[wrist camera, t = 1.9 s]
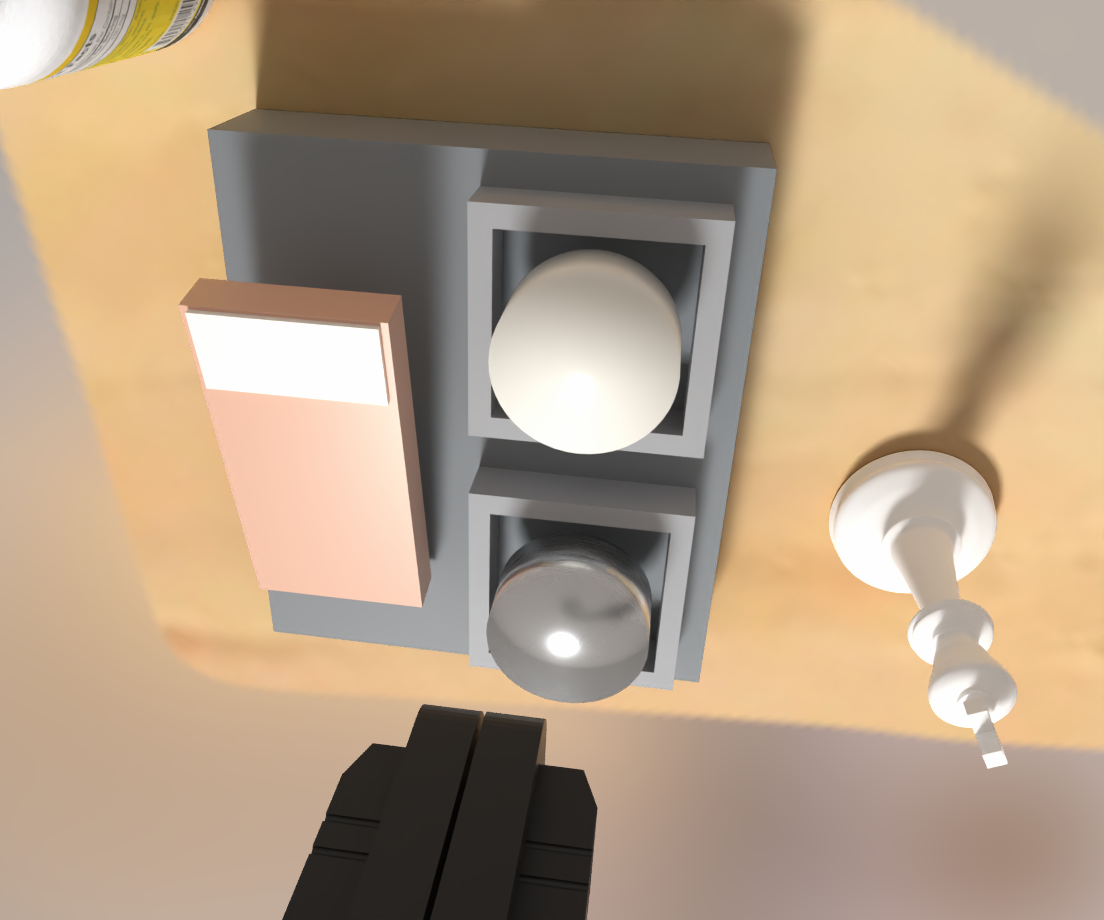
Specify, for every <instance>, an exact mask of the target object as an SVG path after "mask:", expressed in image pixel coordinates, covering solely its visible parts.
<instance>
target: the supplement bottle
mask: <svg viewBox="0 0 1104 920" xmlns="http://www.w3.org/2000/svg"><path fill="white" fill-rule="evenodd" d="M213 2H214V0H0V89H6V88H11V87H19V86H23V85H27V84H31V83H36V82H39V81H42V80H46V79H50V78H54V77H58V76H61V75H65V74H69V73H73V72H77V71H81V70H85V69H89V68H93V67H97V66H100V65H104V64H108V63H112V62H116V61H120V60H124V59H128V58H132V57H135V56H139V55H143V54H147V53H150V52H153V51H157V50H160V49H163V48H166V47H168V46H170V45H172V44H175V43H177V42H179V41H181V40H182V39H184V38H185V37H186V36H188V35H189V34H190V33H192V32H193V31H194V30H195V29H196V28H197V27H198V26H199V24H200V23H201V22H202V21H203V20H204V18H205V17H206V15H207V13H208V12H209V10H210V8H211V6H212V4H213Z"/></svg>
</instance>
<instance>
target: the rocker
mask: <svg viewBox="0 0 1104 920" xmlns="http://www.w3.org/2000/svg"><path fill="white" fill-rule="evenodd" d="M179 309H180V312H181V316H182V319H183V323H184V326H185V329H186V333H187V336H188V340H189V343H190V347H191V350H192V354H193V357H194V361H195V364H196V368H197V371H198V375H199V378H200V382H201V385H202V389H203V392H204V396H205V399H206V403H207V406H208V410H209V413H210V417H211V420H212V424H213V427H214V430H215V434H216V437H217V441H218V444H219V448H220V451H221V455H222V458H223V462H224V465H225V469H226V472H227V476H228V479H229V483H230V486H231V490H232V493H233V497H234V500H235V504H236V507H237V511H238V514H239V518H240V521H241V525H242V528H243V532H244V535H245V538H246V542H247V545H248V549H249V552H250V556H251V559H252V563H253V566H254V570H255V573H256V577H257V580H258V584H259V587H260V589H267V590H275V591H284V592H292V593H301V594H310V595H318V596H327V597H336V598H344V599H353V600H361V601H370V602H379V603H387V604H396V605H405V606H413V607H423V603H424V600H425V597H426V594H427V590H428V587H429V584H430V581H431V568H430V559H429V549H428V540H427V531H426V521H425V512H424V503H423V493H422V484H421V475H420V465H419V456H418V447H417V437H416V428H415V419H414V409H413V400H412V390H411V381H410V372H409V362H408V353H407V344H406V334H405V325H404V316H403V306H402V297H401V295H391V294H379V293H367V292H355V291H344V290H332V289H320V288H308V287H297V286H285V285H273V284H261V283H249V282H238V281H226V280H214V279H202V278H199V280H198V281H197V282H196V283H195V285H194V286H193V287H192V288H191V290H190V291H189V292H188V293H187V295H186V296H185V297H184V299H183V300H182V301H181V302H180V304H179Z"/></svg>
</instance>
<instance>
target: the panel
mask: <svg viewBox="0 0 1104 920" xmlns="http://www.w3.org/2000/svg"><path fill="white" fill-rule="evenodd" d="M207 130H208V138H209V145H210V153H211V161H212V168H213V176H214V183H215V191H216V198H217V206H218V214H219V221H220V229H221V236H222V244H223V251H224V259H225V267H226V274H227V281H238V282H249V283H261V284H273V285H285V286H297V287H308V288H320V289H332V290H344V291H355V292H367V293H379V294H391V295H401V297H402V306H403V316H404V325H405V334H406V344H407V353H408V362H409V372H410V381H411V390H412V400H413V409H414V419H415V428H416V437H417V447H418V456H419V465H420V475H421V484H422V493H423V503H424V512H425V521H426V531H427V540H428V549H429V559H430V568H431V581H430V584H429V587H428V590H427V594H426V597H425V600H424V603H423V607H413V606H405V605H396V604H387V603H379V602H370V601H361V600H353V599H344V598H336V597H327V596H318V595H310V594H301V593H292V592H284V591H275V590H268V592H269V600H270V607H271V615H272V622H273V630H274V631H275V632H284V633H292V634H300V635H309V636H317V637H325V638H333V639H342V640H350V641H358V642H367V643H375V644H383V645H392V646H400V647H408V648H417V649H425V650H433V651H442V652H450V653H458V654H467V655H469V666H475V667H483V668H492V669H500V668H499V667H498V665H497V664H496V662H495V661H494V659H493V657H492V655H491V653H490V650H489V647H488V643H487V635H486V630H487V622H488V618H489V615H490V611H491V608H492V605H493V601H494V598H495V595H496V591H497V588H498V585H499V581H500V578H501V575H502V572H503V569H504V567H505V565H506V563H507V562H508V560H509V559H510V557H511V556H512V555H513V554H514V553H515V552H516V551H517V550H518V549H519V548H521V547H522V546H523V545H525V544H526V543H528V542H530V541H532V540H534V539H536V538H538V537H541V536H545V535H548V534H554V533H561V532H578V533H585V534H590V535H594V536H597V537H601V538H603V539H606V540H608V541H610V542H612V543H614V544H616V545H618V546H619V547H621V548H622V549H624V550H625V551H626V552H627V553H629V554H630V555H631V556H632V557H633V558H634V559H635V560H636V561H637V562H638V564H639V565H640V566H641V568H642V569H643V571H644V572H645V574H646V577H647V579H648V581H649V584H650V588H651V594H652V606H651V621H650V635H649V650H648V656H647V660H646V663H645V665H644V667H643V669H642V671H641V673H640V674H639V675H638V677H637V678H636V679H635V680H634V681H633V682H632V683H631V684H630V685H632V686H640V687H648V688H657V689H665V690H672V689H673V681H674V679H675V680H683V681H692V682H699V679H700V672H701V666H702V659H703V652H704V646H705V639H706V633H707V626H708V619H709V613H710V606H711V600H712V593H713V587H714V580H715V573H716V567H717V560H718V554H719V547H720V541H721V534H722V527H723V521H724V514H725V508H726V501H727V494H728V488H729V481H730V475H731V468H732V462H733V455H734V448H735V442H736V435H737V429H738V422H739V416H740V409H741V402H742V396H743V389H744V383H745V376H746V369H747V363H748V356H749V350H750V343H751V337H752V330H753V323H754V317H755V310H756V304H757V297H758V291H759V284H760V277H761V271H762V264H763V258H764V251H765V244H766V238H767V231H768V225H769V218H770V212H771V205H772V198H773V192H774V185H775V179H776V172H777V168H776V164H775V161H774V158H773V155H772V152H771V148H770V145H769V143H757V142H743V141H728V140H713V139H698V138H683V137H668V136H653V135H638V134H623V133H608V132H593V131H578V130H563V129H548V128H533V127H519V126H504V125H489V124H474V123H459V122H444V121H429V120H414V119H399V118H384V117H369V116H354V115H339V114H324V113H310V112H295V111H280V110H265V109H254V110H251V111H249V112H247V113H244V114H242V115H240V116H238V117H235V118H233V119H231V120H228V121H226V122H224V123H221V124H219V125H217V126H214V127H212V128H210V129H207ZM583 249H597V250H604V251H610V252H614V253H618V254H621V255H624V256H626V257H628V258H631V259H633V260H635V261H636V262H638V263H640V264H641V265H643V266H644V267H646V268H647V269H648V270H650V271H651V272H652V273H653V274H654V275H655V276H656V277H657V278H658V279H659V280H660V281H661V282H662V283H663V285H664V286H665V287H666V289H667V290H668V291H669V293H670V295H671V297H672V299H673V300H674V303H675V305H676V308H677V310H678V314H679V318H680V322H681V331H682V338H681V363H680V380H679V386H678V390H677V393H676V396H675V399H674V402H673V404H672V406H671V408H670V409H669V411H668V413H667V414H666V416H665V417H664V418H663V420H662V421H661V422H660V423H659V424H658V425H657V426H656V428H655V429H653V430H652V431H651V432H650V433H649V434H647V435H646V436H645V437H643V438H642V439H640V440H639V441H637V442H635V443H633V444H631V445H629V446H627V447H624V448H621V449H618V450H615V451H611V452H606V453H598V454H577V453H571V452H565V451H562V450H558V449H554V448H552V447H550V446H547V445H545V444H542V443H541V442H539V441H537V440H535V439H533V438H532V437H530V436H529V435H528V434H526V433H525V432H523V431H522V430H521V429H520V428H519V427H518V426H517V425H516V424H514V422H513V421H512V420H511V419H510V418H509V417H508V416H507V414H506V413H505V411H504V410H503V408H502V407H501V405H500V403H499V401H498V399H497V397H496V395H495V393H494V390H493V387H492V384H491V380H490V375H489V364H488V358H489V348H490V344H491V339H492V336H493V334H494V331H495V328H496V326H497V324H498V322H499V320H500V318H501V316H502V314H503V312H504V310H505V308H506V306H507V304H508V302H509V300H510V298H511V296H512V294H513V292H514V290H515V289H516V287H517V286H518V284H519V283H520V282H521V280H522V279H523V278H524V277H525V276H526V275H527V274H528V273H529V272H530V271H531V270H532V269H534V268H535V267H536V266H538V265H539V264H540V263H542V262H544V261H546V260H548V259H549V258H551V257H554V256H556V255H559V254H562V253H566V252H570V251H574V250H583ZM500 670H501V669H500Z"/></svg>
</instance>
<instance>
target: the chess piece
mask: <svg viewBox="0 0 1104 920" xmlns="http://www.w3.org/2000/svg"><path fill="white" fill-rule="evenodd" d="M996 528H997V515H996V509H995V505H994V499H993V496H992V493H991V490H990V488H989V486H988V484H987V483H986V481H985V480H984V479H983V477H982V476H981V475H980V474H979V473H978V472H977V471H976V470H975V469H974V468H973V467H971V466H970V465H968V464H967V463H965V462H964V461H962V460H960V459H958V458H956V457H953V456H951V455H947V454H944V453H940V452H935V451H925V450H913V451H904V452H898V453H894V454H890V455H887V456H884V457H881V458H879V459H876V460H874V461H872V462H870V463H868V464H867V465H865V466H863V467H862V468H861V469H859V470H858V471H857V472H855V473H854V474H853V475H852V476H851V477H850V478H849V479H848V480H847V481H846V482H845V483H844V484H843V486H842V487H841V488H840V490H839V491H838V493H837V495H836V497H835V499H834V501H833V503H832V506H831V510H830V515H829V531H830V536H831V540H832V543H833V545H834V547H835V549H836V551H837V553H838V555H839V557H840V559H841V560H842V562H843V563H844V565H845V566H846V567H847V568H848V569H849V571H850V572H852V573H853V574H854V575H855V576H856V577H858V578H859V579H860V580H862V581H864V582H865V583H867V584H869V585H871V586H874V587H876V588H879V589H882V590H886V591H891V592H898V593H912V595H913V597H914V599H915V600H916V602H917V604H918V606H919V608H920V611H919V612H918V613H917V614H916V615H915V616H914V617H913V619H912V620H911V622H910V624H909V627H908V640H909V643H910V645H911V647H912V649H913V650H914V651H915V652H916V653H917V655H918V656H919V657H920V658H922V659H923V660H924V661H926V662H928V663H930V664H933V670H932V675H931V677H930V681H929V689H928V698H929V703H930V706H931V708H932V709H933V711H934V712H935V714H936V715H937V716H938V717H940V718H941V719H942V720H944V721H946V722H948V723H950V724H952V725H956V726H960V727H969V728H973V731H974V733H975V736H976V739H977V742H978V745H979V748H980V751H981V753H982V756H983V759H984V761H985V763H986V766H987V768H992V767H996V766H1001V765H1005V764H1007V759H1006V757H1005V753H1004V751H1003V748H1002V745H1001V743H1000V741H999V738H998V736H997V733H996V731H995V728H994V725H993V723H994V722H997V721H998V720H1000V719H1002V718H1003V717H1004V716H1006V715H1007V714H1008V713H1009V712H1010V710H1011V709H1012V708H1013V706H1014V704H1015V702H1016V699H1017V687H1016V684H1015V681H1014V679H1013V678H1012V676H1011V675H1010V674H1009V672H1008V671H1007V670H1006V669H1005V668H1004V667H1003V666H1002V665H1001V664H1000V663H999V662H997V661H996V660H994V659H993V658H992V657H991V656H990V655H989V654H988V653H987V650H988V649H989V647H990V646H991V643H992V640H993V633H994V626H993V621H992V619H991V617H990V615H989V614H988V613H987V611H986V610H985V609H983V608H982V607H981V606H979V605H977V604H975V603H973V602H970V601H967V600H962V599H960V595H959V589H958V584H957V581H958V580H959V579H961V578H963V577H964V576H966V575H967V574H968V573H970V572H971V571H972V570H973V569H974V568H975V567H977V566H978V564H979V563H980V562H981V561H982V560H983V559H984V557H985V556H986V554H987V553H988V551H989V550H990V548H991V546H992V543H993V541H994V538H995V534H996Z"/></svg>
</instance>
